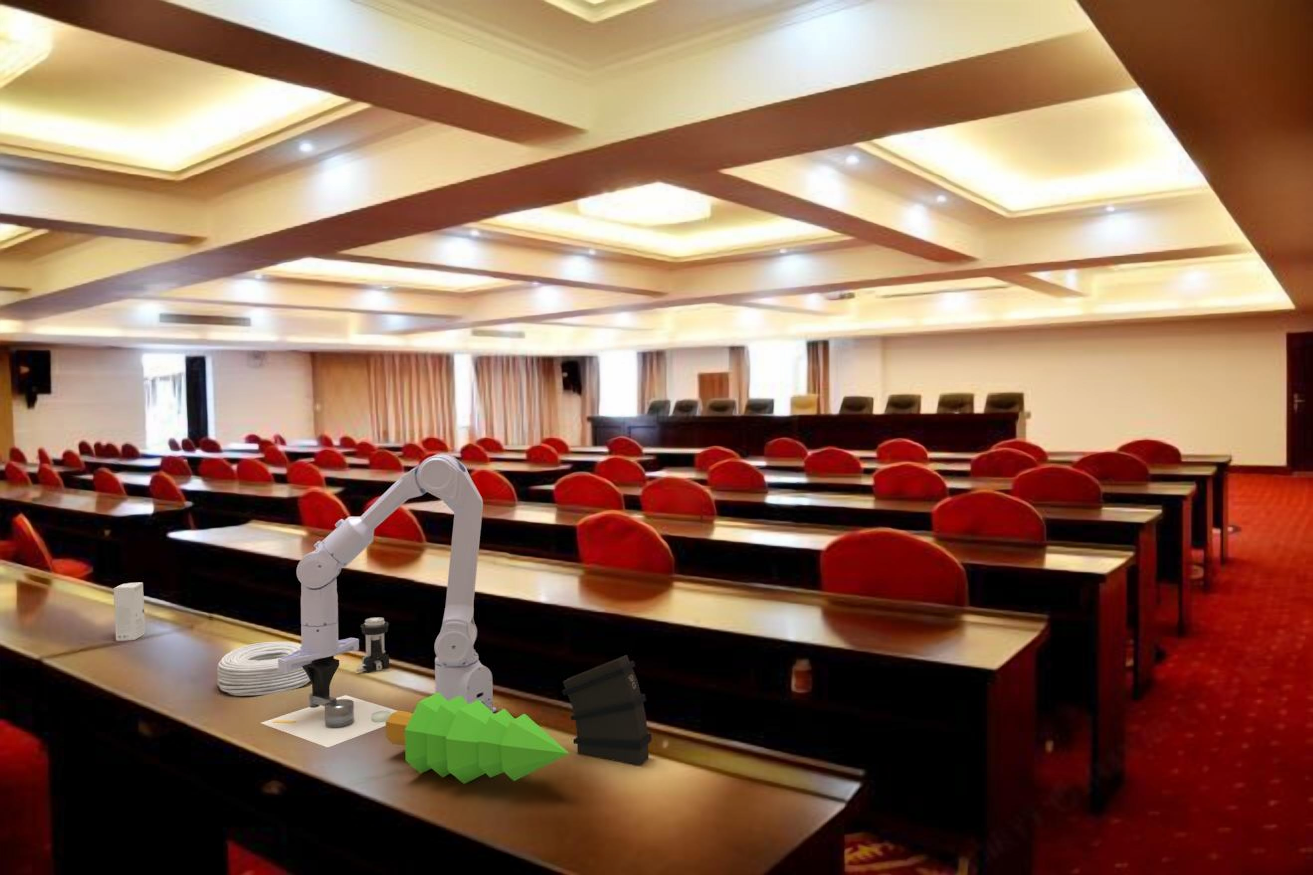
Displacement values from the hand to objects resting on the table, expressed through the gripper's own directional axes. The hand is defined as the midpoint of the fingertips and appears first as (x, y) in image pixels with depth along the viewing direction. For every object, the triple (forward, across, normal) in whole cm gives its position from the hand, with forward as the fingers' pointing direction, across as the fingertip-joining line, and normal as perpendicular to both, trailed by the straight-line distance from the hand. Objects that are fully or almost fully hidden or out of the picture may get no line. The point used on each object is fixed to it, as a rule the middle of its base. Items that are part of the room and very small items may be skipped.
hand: (320, 702), depth 142 cm
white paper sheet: (+3, 0, +5) cm, 5 cm away
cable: (+3, -8, -25) cm, 27 cm away
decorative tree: (+3, +5, +38) cm, 39 cm away
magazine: (+3, -11, +50) cm, 51 cm away
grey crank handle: (+2, +1, +4) cm, 4 cm away
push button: (+3, -23, -14) cm, 27 cm away
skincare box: (+4, -14, -82) cm, 83 cm away
